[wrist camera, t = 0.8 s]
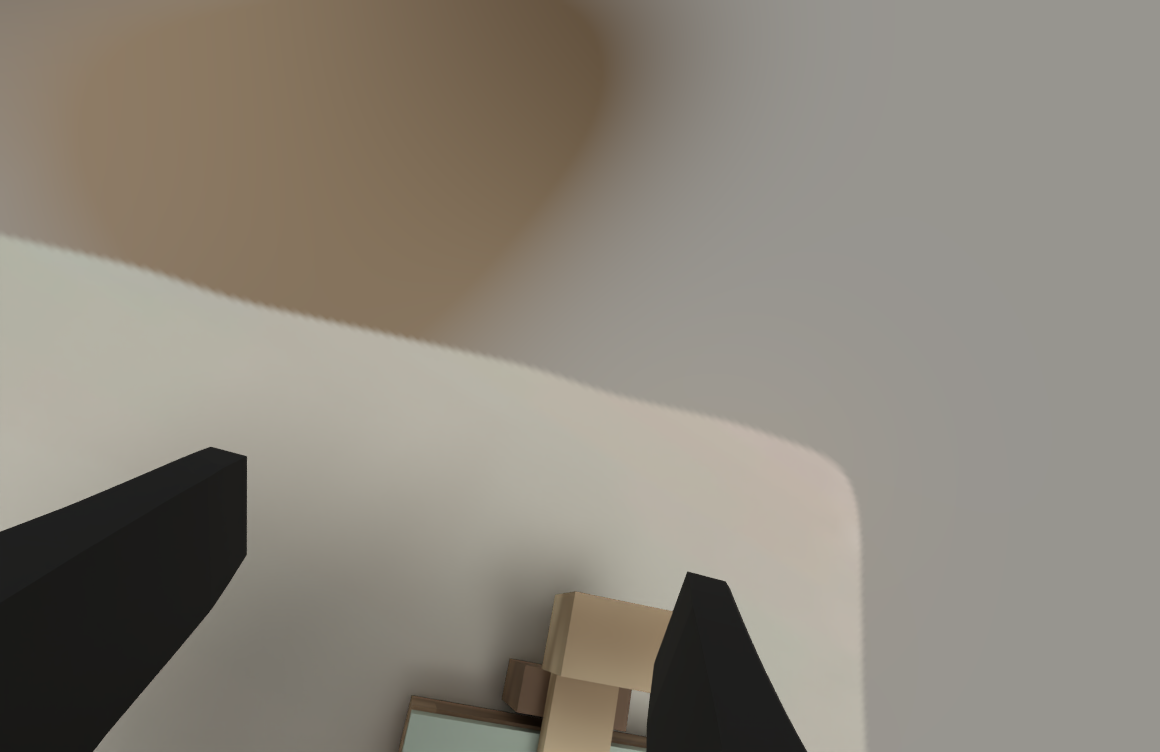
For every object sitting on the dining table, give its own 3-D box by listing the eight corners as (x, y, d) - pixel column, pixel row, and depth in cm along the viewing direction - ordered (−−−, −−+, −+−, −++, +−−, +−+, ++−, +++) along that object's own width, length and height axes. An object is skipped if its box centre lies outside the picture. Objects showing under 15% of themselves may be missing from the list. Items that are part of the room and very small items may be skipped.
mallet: (606, 816, 22) (646, 857, 18) (511, 801, 22) (532, 839, 18) (636, 613, 24) (677, 612, 20) (549, 595, 24) (575, 591, 20)
